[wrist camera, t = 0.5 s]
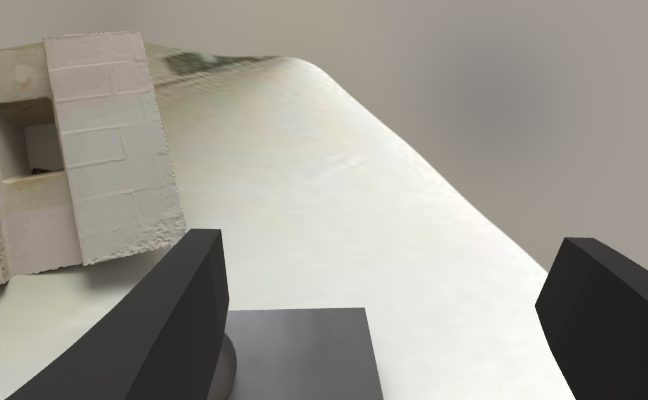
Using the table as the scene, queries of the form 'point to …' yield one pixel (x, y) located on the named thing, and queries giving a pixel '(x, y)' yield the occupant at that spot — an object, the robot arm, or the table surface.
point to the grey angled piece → (82, 155)
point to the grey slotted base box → (296, 356)
